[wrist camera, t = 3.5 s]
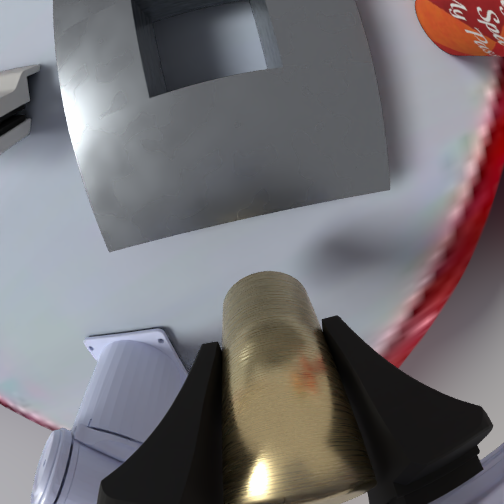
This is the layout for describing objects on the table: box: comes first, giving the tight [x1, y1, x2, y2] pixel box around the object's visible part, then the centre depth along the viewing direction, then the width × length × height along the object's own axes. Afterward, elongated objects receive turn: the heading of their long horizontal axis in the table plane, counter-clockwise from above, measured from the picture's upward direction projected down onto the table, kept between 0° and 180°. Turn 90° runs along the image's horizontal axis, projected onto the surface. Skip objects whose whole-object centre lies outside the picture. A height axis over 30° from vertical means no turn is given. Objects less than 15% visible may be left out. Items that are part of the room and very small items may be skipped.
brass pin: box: [222, 271, 377, 504], centre depth 9 cm, size 4×4×9 cm
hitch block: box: [53, 0, 390, 252], centre depth 10 cm, size 18×14×4 cm
